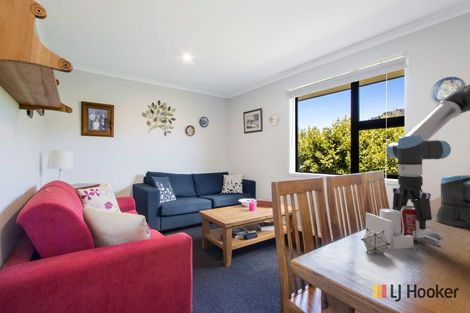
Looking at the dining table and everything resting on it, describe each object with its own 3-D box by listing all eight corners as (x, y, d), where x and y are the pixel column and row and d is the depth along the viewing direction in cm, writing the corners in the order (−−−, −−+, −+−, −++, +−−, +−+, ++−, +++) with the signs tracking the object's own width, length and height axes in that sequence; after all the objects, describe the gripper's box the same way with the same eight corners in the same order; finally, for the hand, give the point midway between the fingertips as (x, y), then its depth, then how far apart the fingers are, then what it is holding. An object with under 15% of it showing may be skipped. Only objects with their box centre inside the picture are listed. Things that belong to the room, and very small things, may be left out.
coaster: (423, 230, 97) (423, 229, 97) (446, 238, 88) (446, 236, 88) (405, 232, 95) (405, 230, 95) (426, 239, 86) (426, 238, 86)
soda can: (426, 241, 82) (426, 209, 82) (406, 240, 84) (405, 209, 84) (415, 234, 89) (415, 205, 89) (396, 234, 90) (396, 205, 90)
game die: (378, 267, 74) (378, 250, 68) (355, 249, 81) (354, 232, 75) (396, 251, 76) (397, 233, 70) (372, 234, 83) (372, 217, 77)
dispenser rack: (408, 233, 93) (408, 205, 93) (438, 245, 81) (438, 212, 81) (365, 237, 90) (365, 207, 90) (390, 249, 78) (390, 216, 78)
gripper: (381, 173, 95) (382, 226, 95) (427, 178, 76) (428, 244, 76) (396, 172, 96) (397, 225, 97) (445, 177, 77) (446, 242, 77)
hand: (410, 233), depth 86 cm, fingers closed on soda can, 7 cm apart
